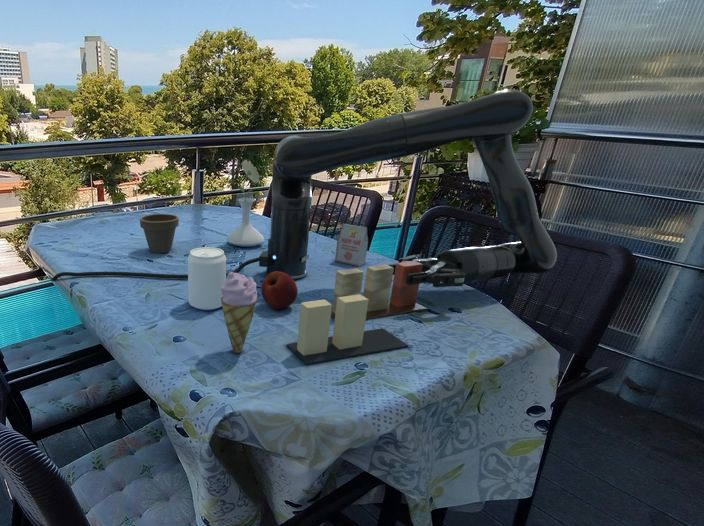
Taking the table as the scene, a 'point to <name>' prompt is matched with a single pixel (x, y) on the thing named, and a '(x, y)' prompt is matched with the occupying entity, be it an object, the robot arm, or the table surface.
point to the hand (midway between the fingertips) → (397, 274)
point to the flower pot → (159, 231)
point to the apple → (279, 290)
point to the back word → (370, 291)
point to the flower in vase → (246, 215)
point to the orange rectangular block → (404, 284)
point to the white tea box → (352, 245)
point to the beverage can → (206, 277)
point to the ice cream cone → (238, 307)
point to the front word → (339, 332)
